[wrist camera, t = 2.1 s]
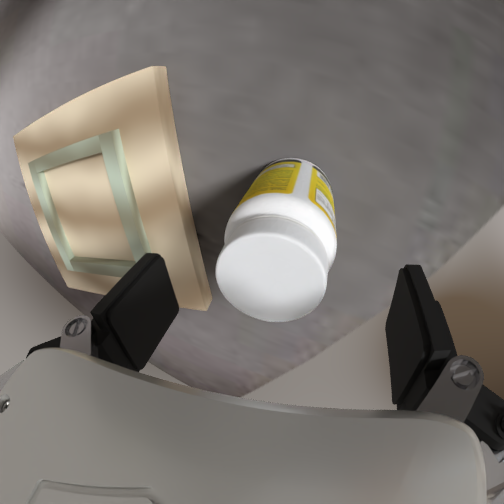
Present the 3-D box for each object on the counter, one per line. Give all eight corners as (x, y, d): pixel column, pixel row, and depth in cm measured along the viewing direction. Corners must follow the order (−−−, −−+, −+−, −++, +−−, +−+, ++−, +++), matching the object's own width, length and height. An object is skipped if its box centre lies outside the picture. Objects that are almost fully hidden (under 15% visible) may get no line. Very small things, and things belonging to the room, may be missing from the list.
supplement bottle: (245, 210, 18) (192, 299, 11) (270, 143, 15) (221, 197, 8) (313, 240, 18) (300, 343, 11) (346, 177, 15) (364, 260, 8)
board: (24, 131, 18) (7, 139, 16) (165, 66, 13) (145, 65, 11) (75, 279, 27) (63, 291, 26) (212, 298, 23) (202, 317, 21)
